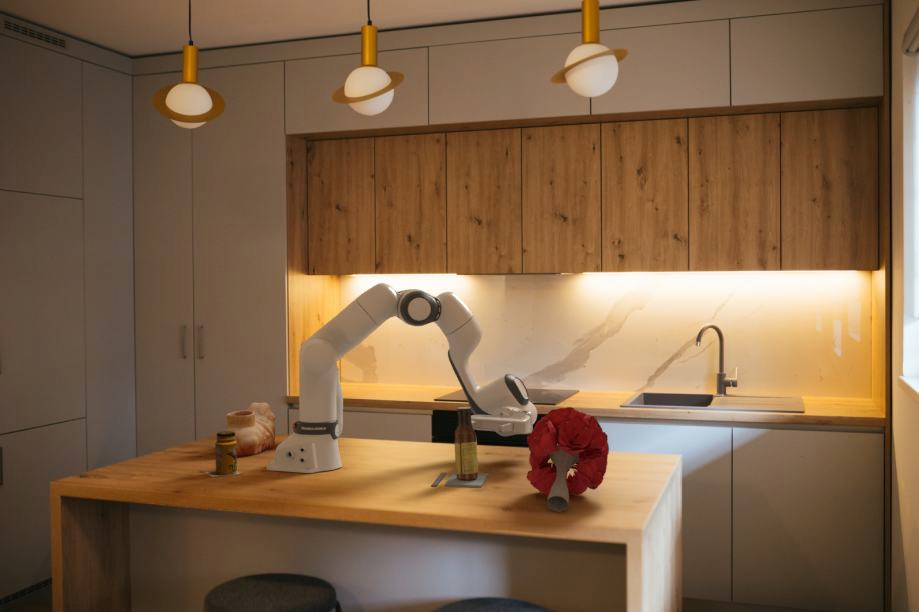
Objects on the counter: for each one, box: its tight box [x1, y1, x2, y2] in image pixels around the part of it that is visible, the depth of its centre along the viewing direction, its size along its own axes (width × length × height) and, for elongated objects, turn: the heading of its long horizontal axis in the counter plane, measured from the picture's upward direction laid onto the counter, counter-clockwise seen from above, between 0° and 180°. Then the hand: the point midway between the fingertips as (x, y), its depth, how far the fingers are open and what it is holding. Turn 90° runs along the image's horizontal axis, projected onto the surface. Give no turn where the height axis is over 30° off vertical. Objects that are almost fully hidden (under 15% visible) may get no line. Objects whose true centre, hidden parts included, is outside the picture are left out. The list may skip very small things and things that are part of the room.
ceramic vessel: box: [226, 402, 277, 458], centre depth 291 cm, size 14×26×15 cm, turn 167°
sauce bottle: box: [454, 406, 479, 480], centre depth 244 cm, size 6×6×20 cm
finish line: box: [430, 472, 447, 487], centre depth 245 cm, size 2×16×1 cm, turn 171°
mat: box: [444, 471, 489, 488], centre depth 244 cm, size 10×15×1 cm, turn 171°
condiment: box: [204, 430, 242, 478], centre depth 255 cm, size 7×8×12 cm
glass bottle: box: [336, 365, 344, 439], centre depth 306 cm, size 10×10×28 cm
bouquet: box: [526, 406, 610, 513], centre depth 221 cm, size 22×24×30 cm
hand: (485, 427), depth 253 cm, fingers open, 8 cm apart
